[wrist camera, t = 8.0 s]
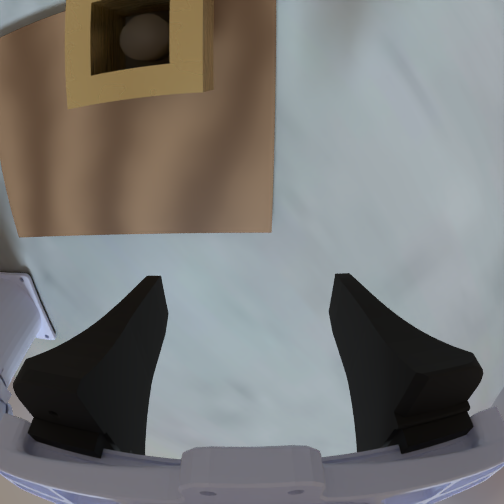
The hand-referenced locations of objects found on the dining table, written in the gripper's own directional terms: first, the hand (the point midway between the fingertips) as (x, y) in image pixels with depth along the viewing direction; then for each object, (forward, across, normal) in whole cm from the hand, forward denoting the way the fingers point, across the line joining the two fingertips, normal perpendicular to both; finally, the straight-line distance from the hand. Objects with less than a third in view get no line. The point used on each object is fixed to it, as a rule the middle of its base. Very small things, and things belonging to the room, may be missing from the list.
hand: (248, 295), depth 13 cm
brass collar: (+5, +4, -11) cm, 13 cm away
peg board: (+9, +8, -7) cm, 14 cm away
